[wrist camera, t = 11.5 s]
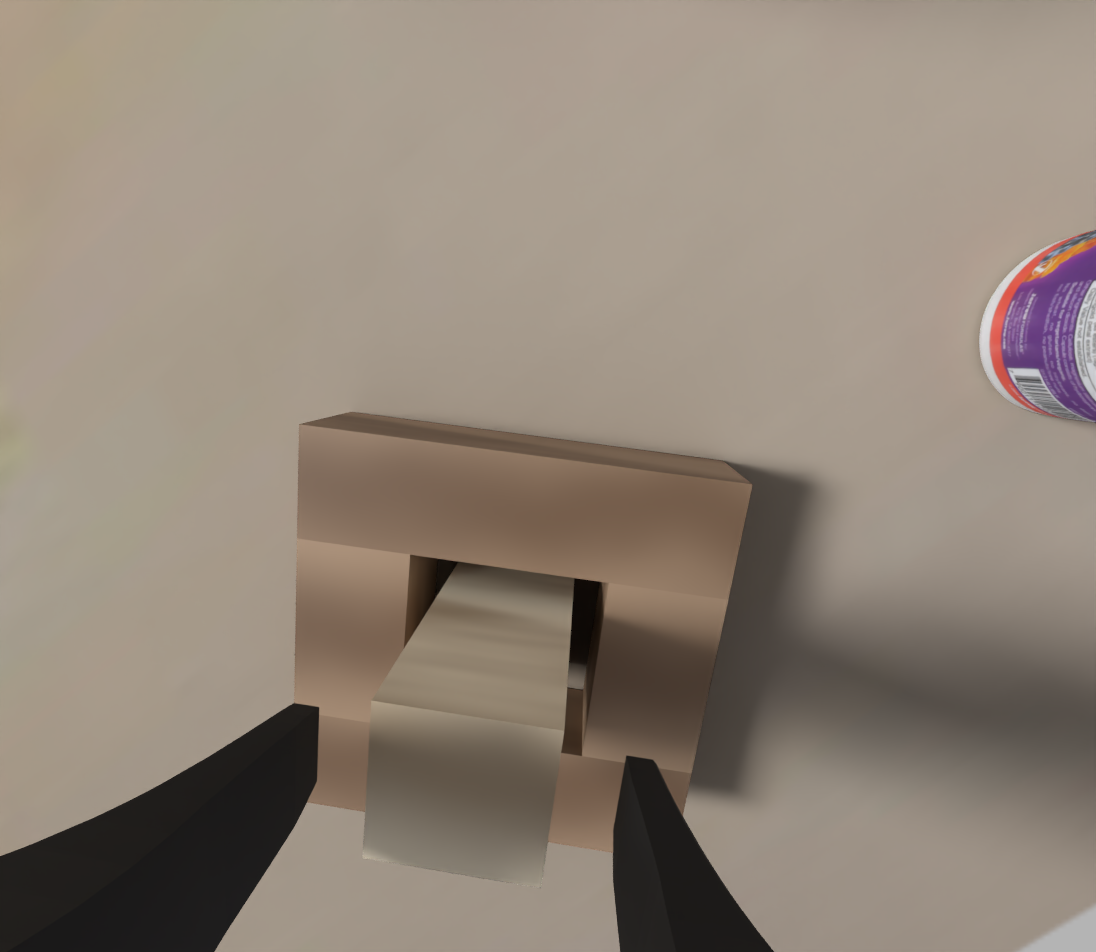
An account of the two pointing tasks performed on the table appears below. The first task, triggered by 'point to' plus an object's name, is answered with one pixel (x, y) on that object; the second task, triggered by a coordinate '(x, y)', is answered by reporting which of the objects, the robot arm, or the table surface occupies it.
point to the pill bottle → (1046, 331)
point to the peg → (473, 729)
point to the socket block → (522, 544)
